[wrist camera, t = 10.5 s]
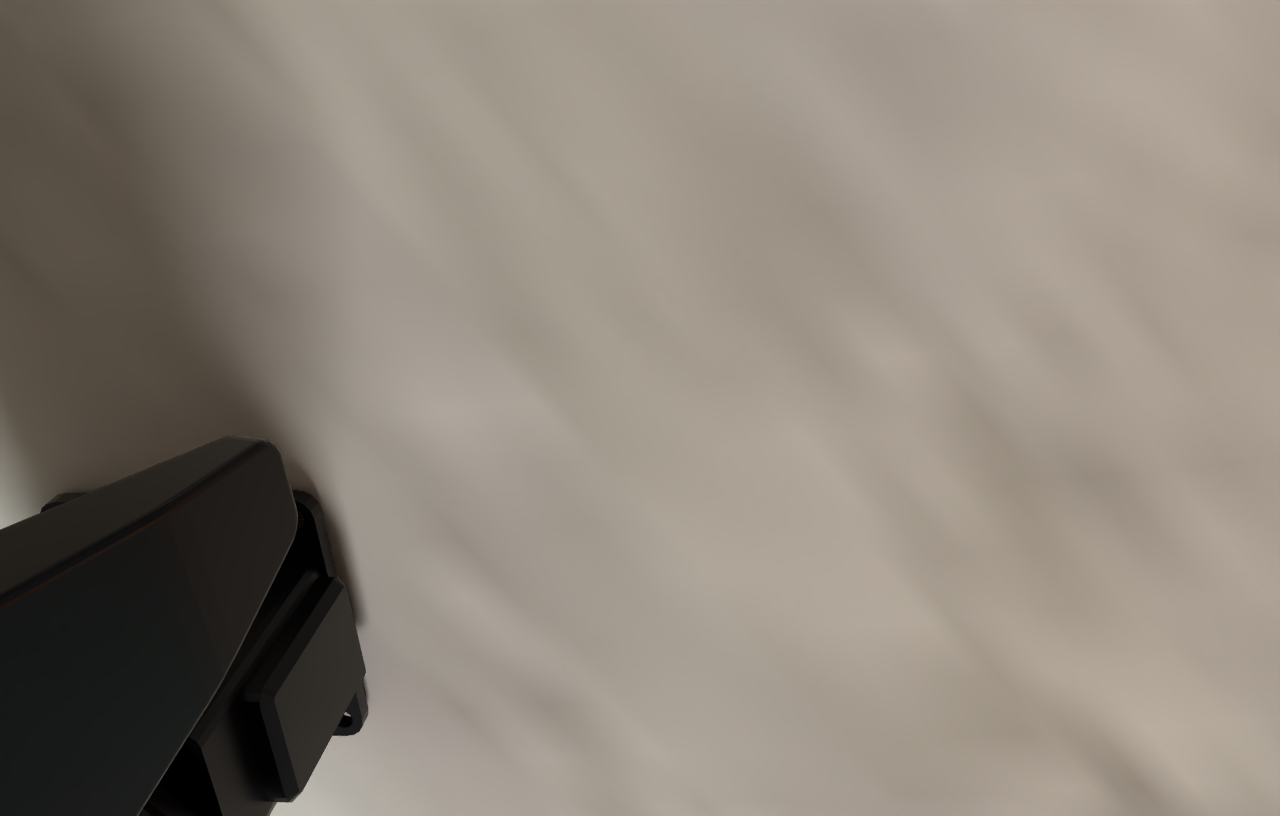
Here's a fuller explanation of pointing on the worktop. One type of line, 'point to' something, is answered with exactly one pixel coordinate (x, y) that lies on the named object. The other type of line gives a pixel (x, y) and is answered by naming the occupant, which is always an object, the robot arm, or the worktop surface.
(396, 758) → the worktop surface
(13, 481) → the worktop surface
